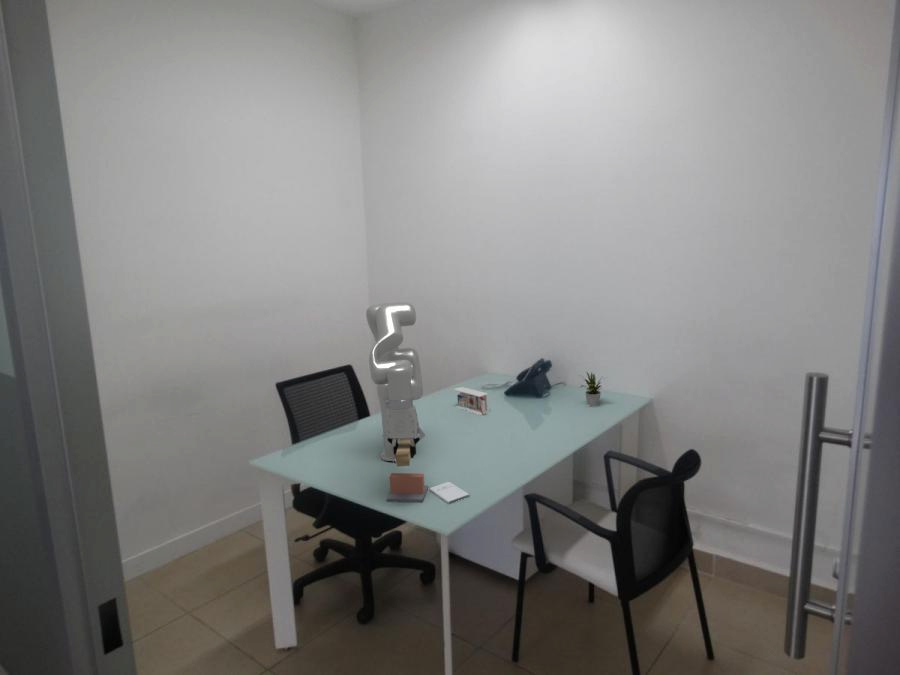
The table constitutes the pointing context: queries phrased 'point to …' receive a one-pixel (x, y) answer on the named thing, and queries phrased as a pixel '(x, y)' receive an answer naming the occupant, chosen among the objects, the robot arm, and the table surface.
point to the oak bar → (403, 453)
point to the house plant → (592, 391)
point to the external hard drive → (449, 492)
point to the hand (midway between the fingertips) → (405, 456)
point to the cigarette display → (473, 400)
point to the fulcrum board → (408, 496)
